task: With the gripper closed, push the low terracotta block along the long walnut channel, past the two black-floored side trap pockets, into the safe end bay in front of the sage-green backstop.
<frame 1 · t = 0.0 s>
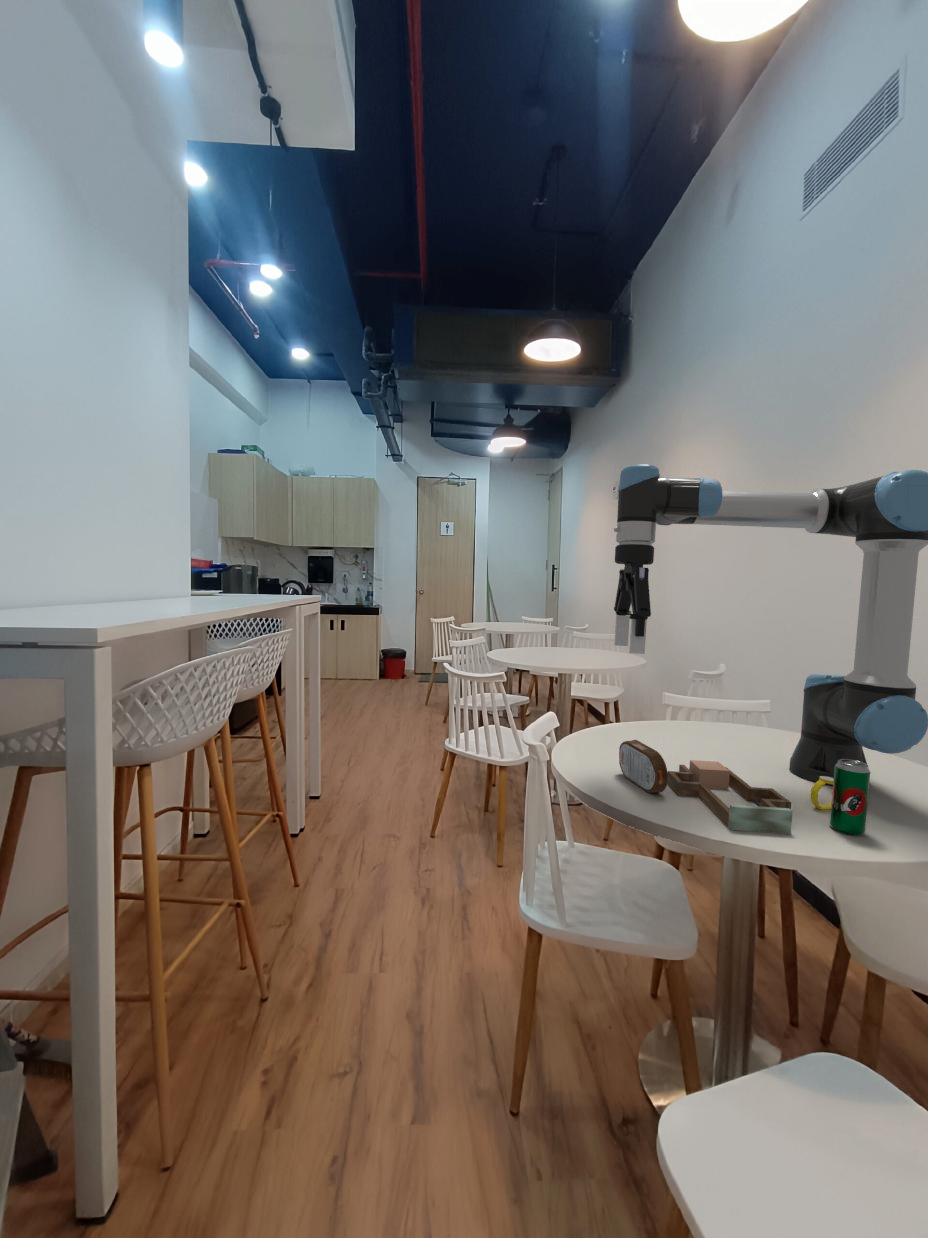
hand: (628, 649, 113), 28 cm above the table, fingers open, 13 cm apart
tin: (639, 786, 115), on the table
watch: (824, 809, 106), on the table
soda can: (846, 831, 97), on the table
block: (708, 783, 118), on the table
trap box: (728, 802, 107), on the table
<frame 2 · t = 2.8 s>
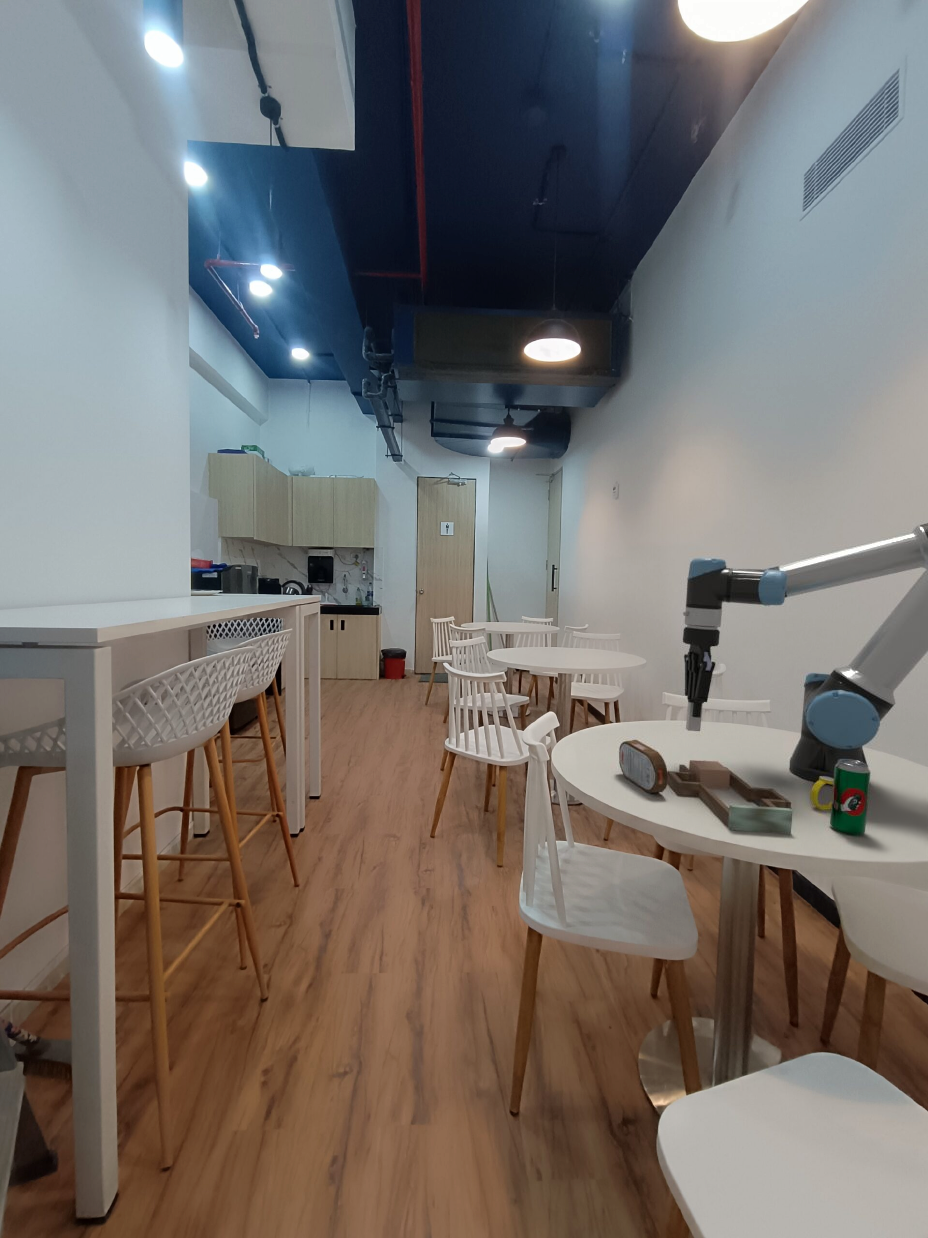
hand: (692, 730, 127), 9 cm above the table, fingers closed
nothing on the table moved.
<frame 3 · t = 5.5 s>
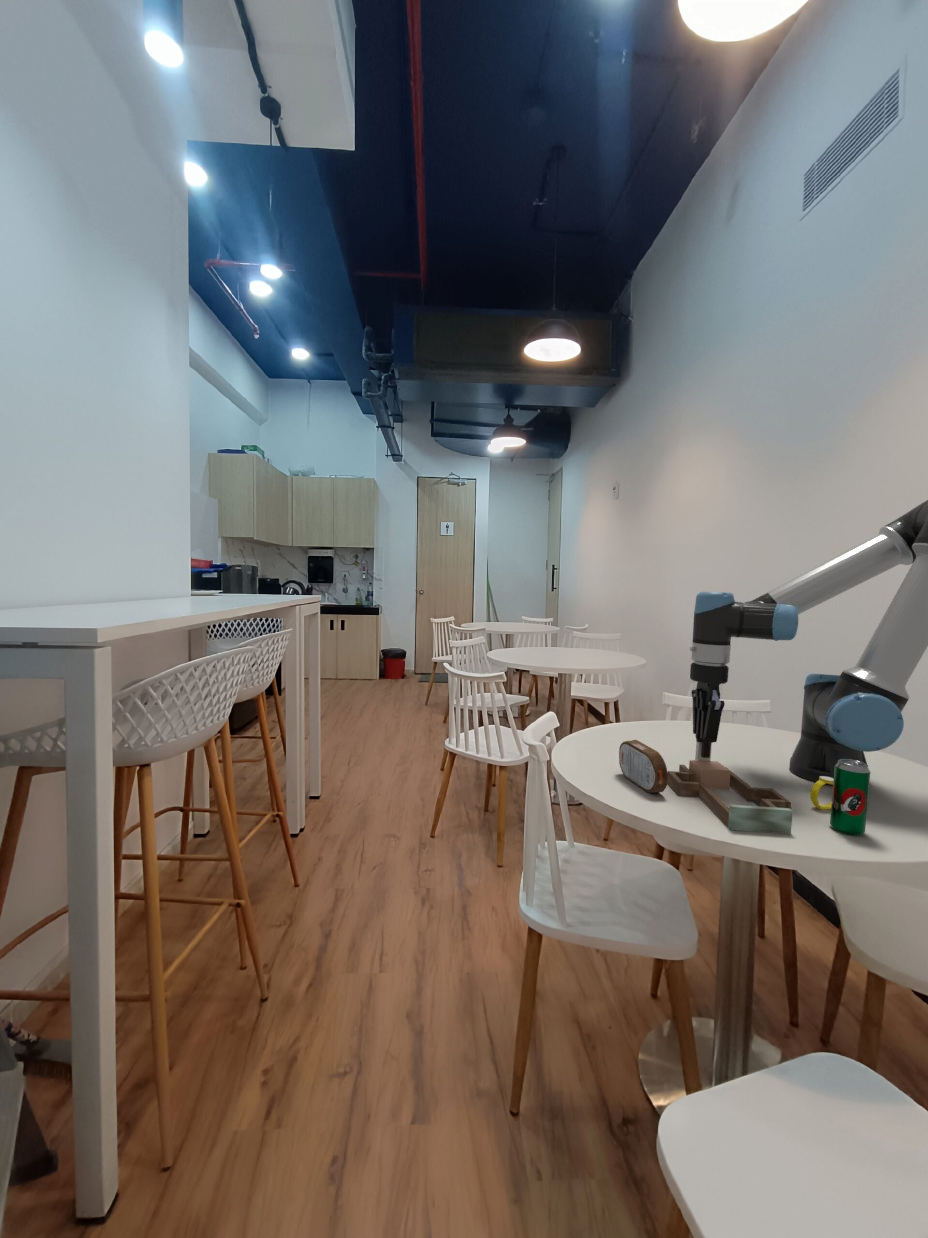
hand: (702, 770, 121), 1 cm above the table, fingers closed
block: (708, 783, 118), on the table, touching gripper
everything else where it was.
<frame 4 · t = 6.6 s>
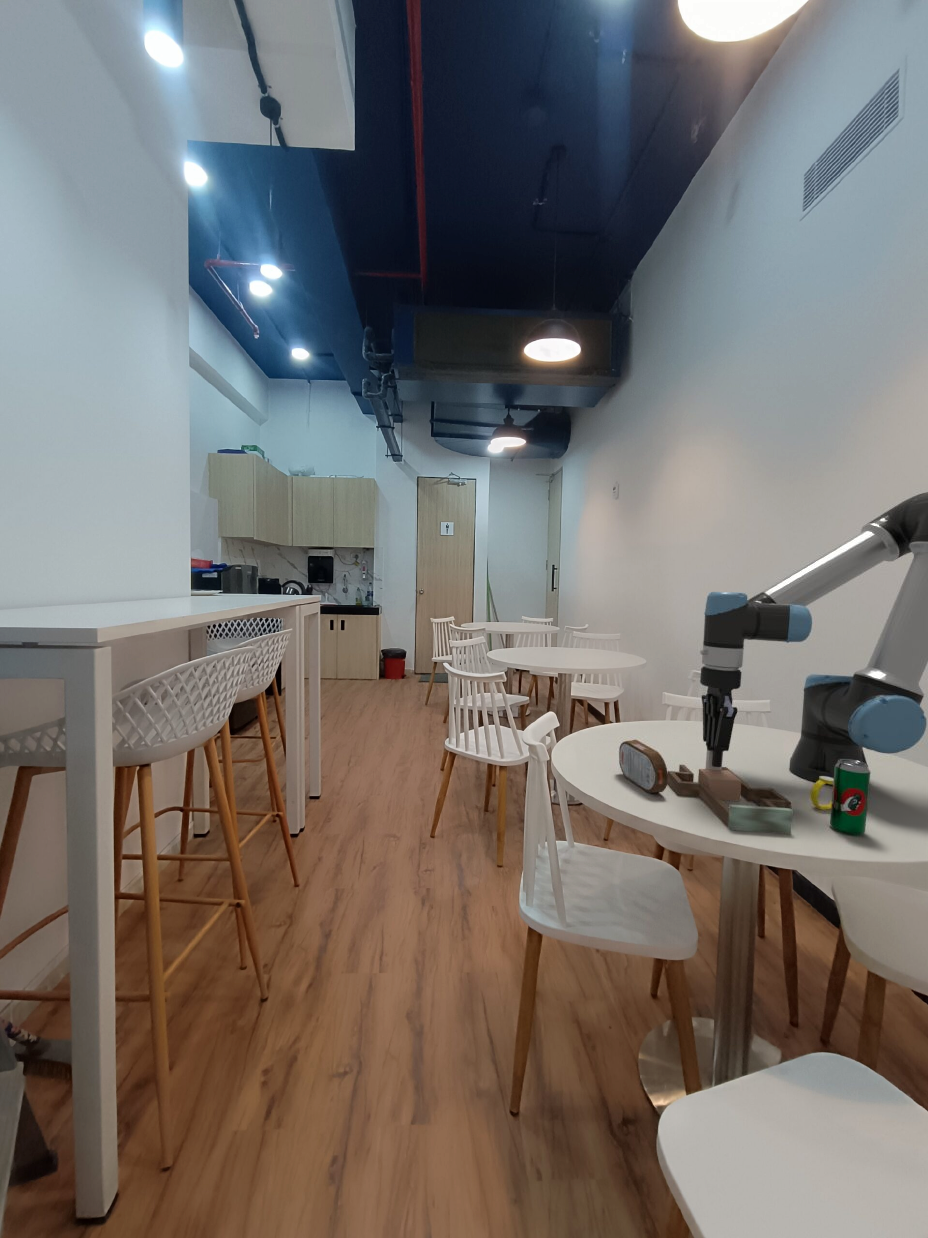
hand: (712, 780, 115), 2 cm above the table, fingers closed
block: (718, 794, 111), on the table, touching gripper
everything else where it was.
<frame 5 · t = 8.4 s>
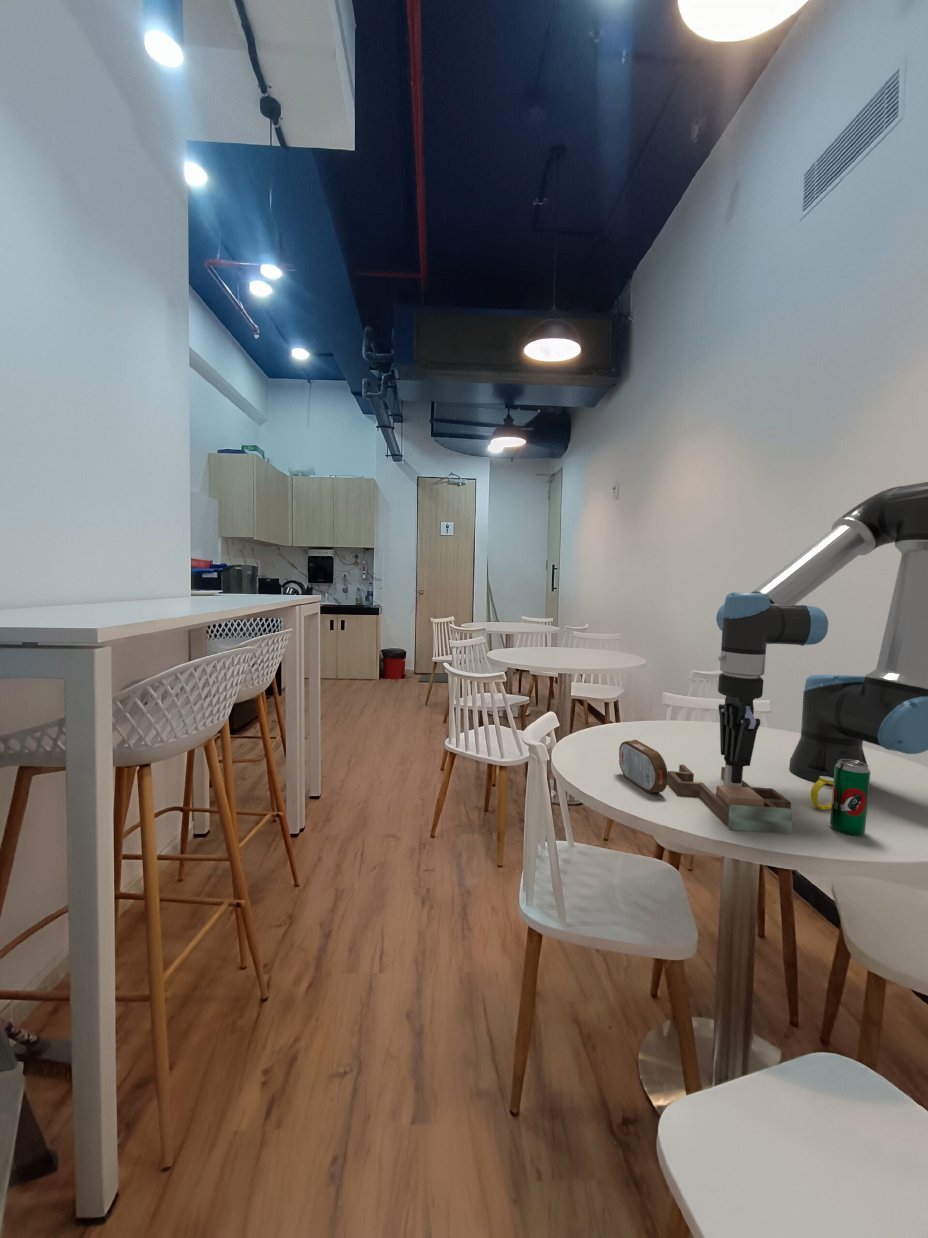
hand: (731, 797, 106), 1 cm above the table, fingers closed
block: (738, 813, 102), on the table, touching gripper
everything else where it was.
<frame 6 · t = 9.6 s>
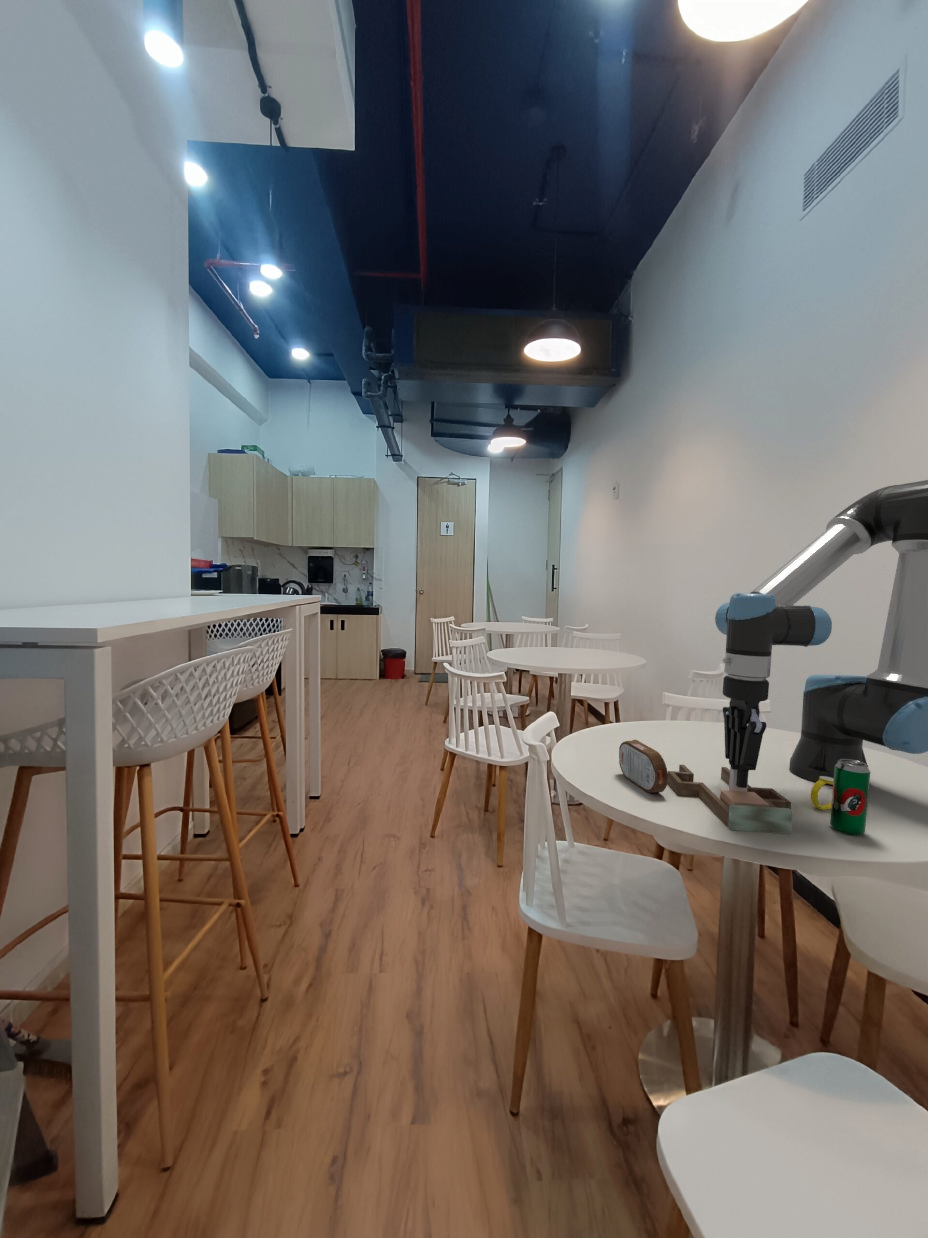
hand: (737, 802, 104), 1 cm above the table, fingers closed
block: (742, 818, 100), on the table, touching gripper
everything else where it was.
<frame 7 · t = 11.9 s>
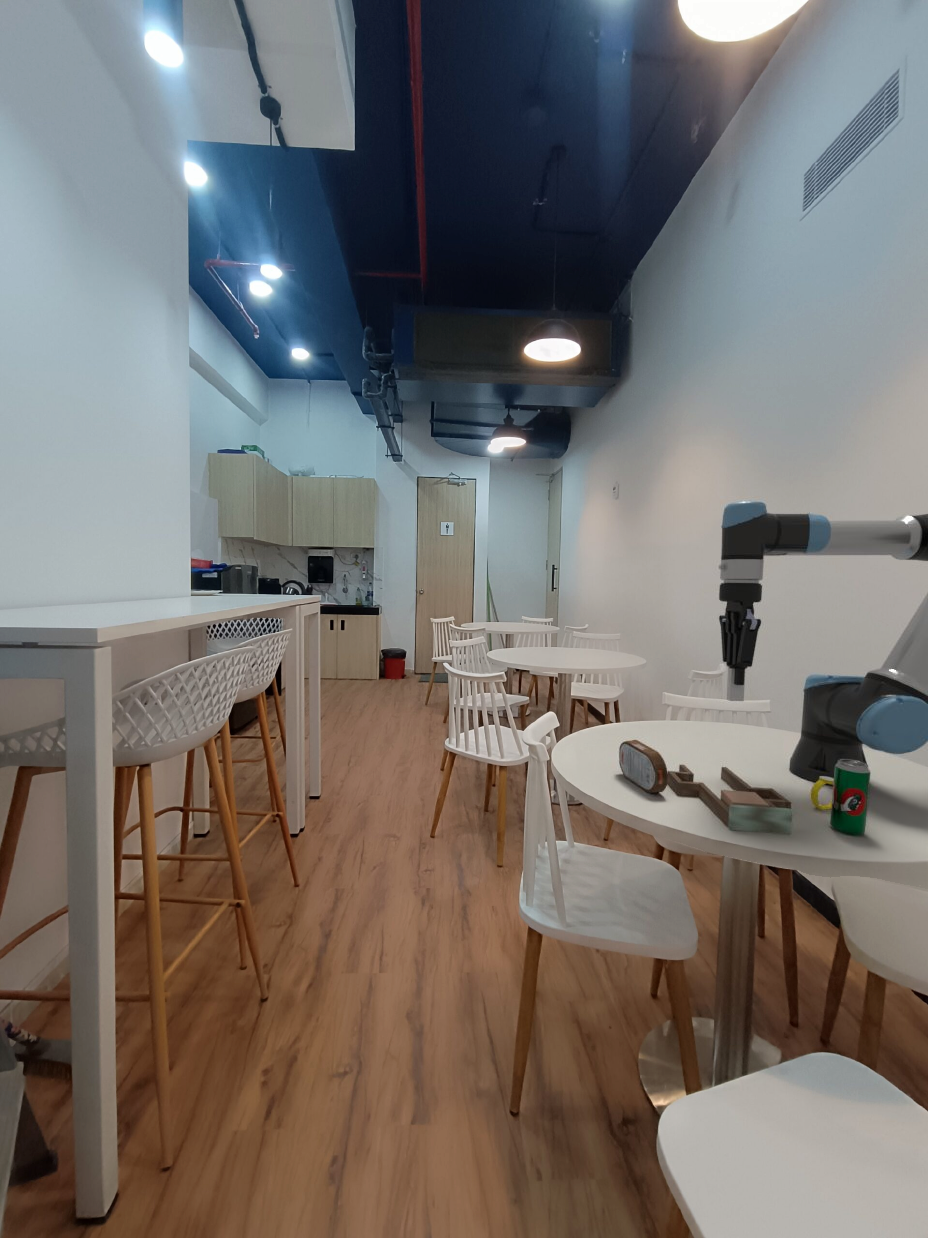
hand: (735, 700, 111), 19 cm above the table, fingers closed
block: (742, 818, 100), on the table
everything else where it was.
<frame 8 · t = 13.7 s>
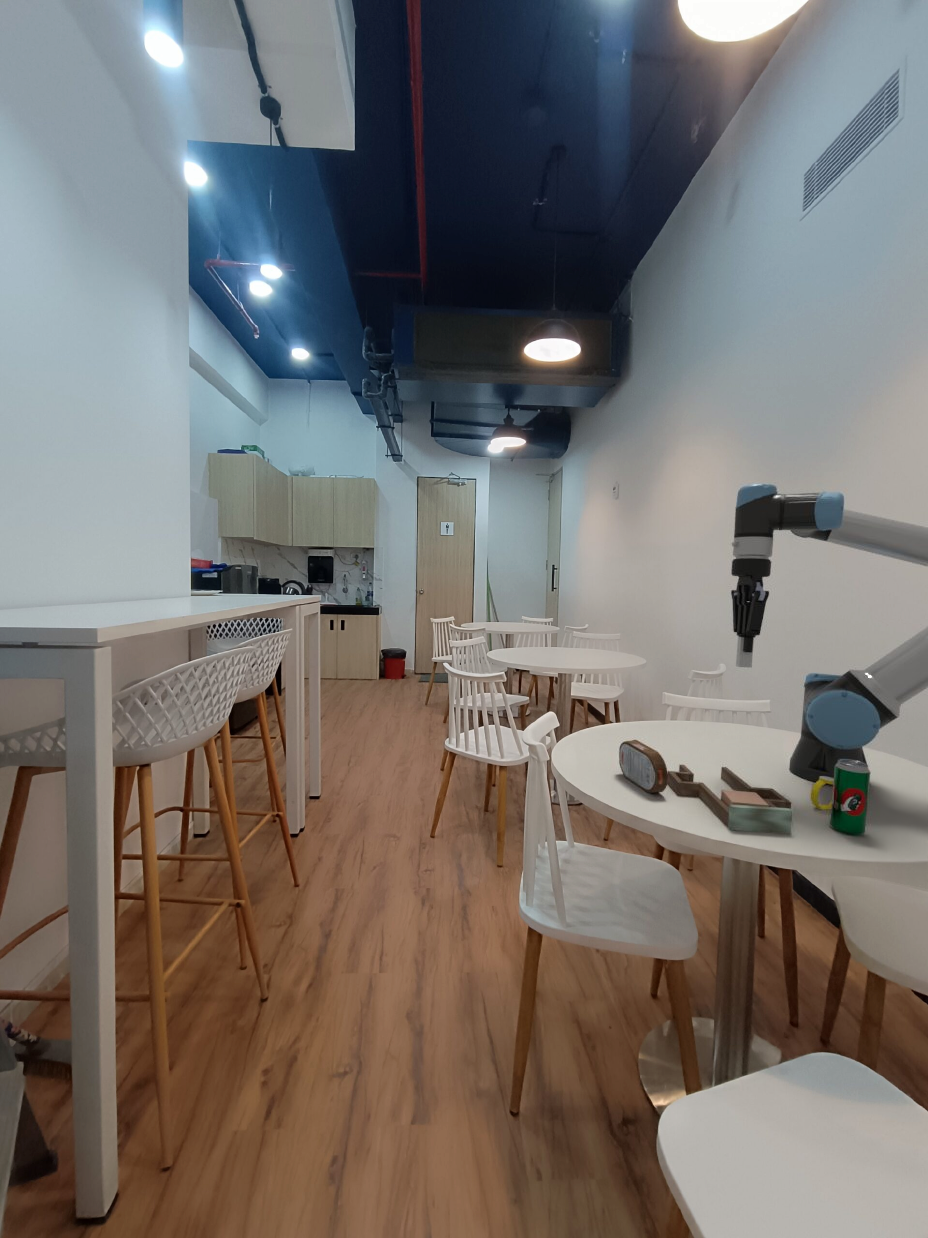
hand: (743, 666, 121), 24 cm above the table, fingers closed
nothing on the table moved.
at the end: block 1.4 cm from the target spot, on the table; block tilted 0° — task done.
